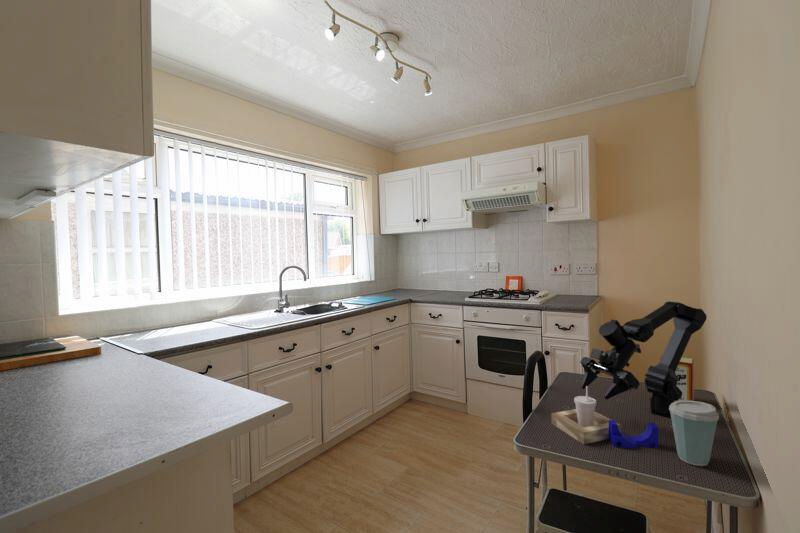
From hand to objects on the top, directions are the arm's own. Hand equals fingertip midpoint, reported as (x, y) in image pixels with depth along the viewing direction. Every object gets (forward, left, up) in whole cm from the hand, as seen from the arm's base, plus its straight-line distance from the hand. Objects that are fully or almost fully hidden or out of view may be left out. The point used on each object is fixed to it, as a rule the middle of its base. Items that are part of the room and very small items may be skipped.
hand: (593, 393), depth 120 cm
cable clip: (-12, +3, -12) cm, 17 cm away
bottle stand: (+2, +3, -11) cm, 12 cm away
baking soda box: (-14, -42, -11) cm, 46 cm away
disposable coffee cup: (-25, +1, -11) cm, 28 cm away
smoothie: (+1, +3, -11) cm, 12 cm away
